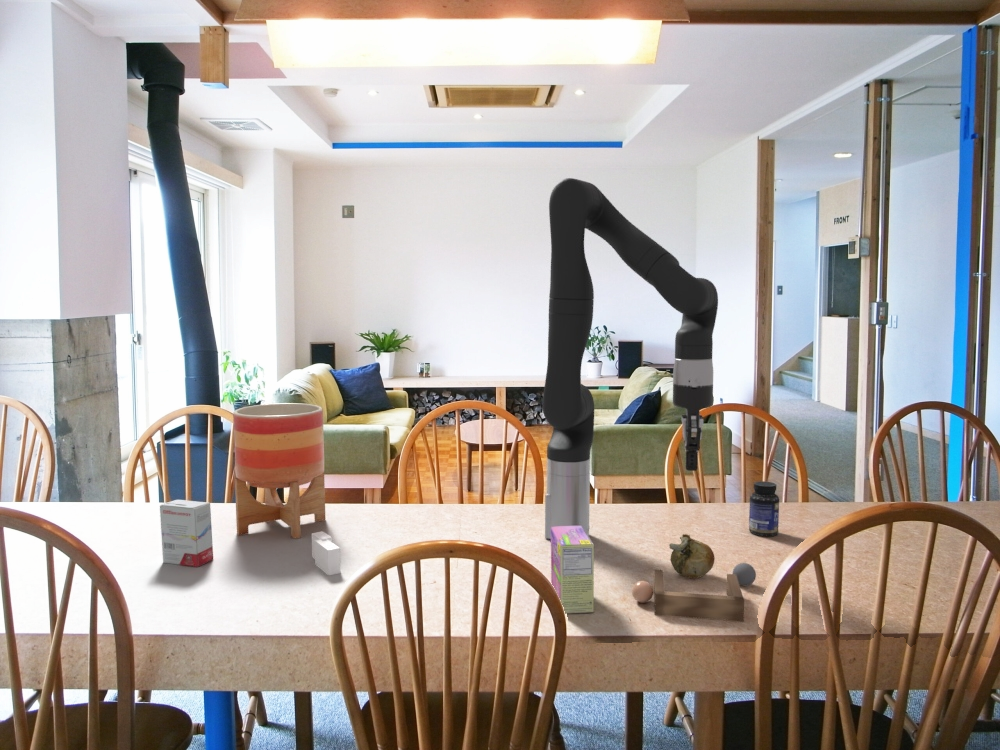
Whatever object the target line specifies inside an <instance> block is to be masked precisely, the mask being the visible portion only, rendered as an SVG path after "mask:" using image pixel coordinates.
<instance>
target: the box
mask: <svg viewBox="0 0 1000 750" xmlns="http://www.w3.org/2000/svg"><path fill="white" fill-rule="evenodd" d="M594 555H595V545H594V543H593V541H592V539H591V537H590V536H589V537H588V535H587V534H586V532H585V531H584V529H583V528H582V526H556V527H551V539H550V565H551V566H550V569H551V570H550V572H551V573H550V584H551V583H552V585H553V586H554V588H555V590H556V592H557V594H558V596H559V598H560V600H561V603H562V605H563V607H564V611H565V614H568V615H569V614H584V613H585V614H590V613H594V593H595V592H594V583H595V581H594V578H595V577H594V576H595V573H594V571H595V570H594V569H595V568H594V567H595V565H594V564H595V563H594V562H595V561H594V560H595V556H594ZM565 614H564V615H565Z"/></svg>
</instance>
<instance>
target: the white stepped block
mask: <svg viewBox="0 0 1000 750" xmlns="http://www.w3.org/2000/svg"><path fill="white" fill-rule="evenodd" d="M332 539H333V538H332V536H331V535H329V534H328V533H326V532H325V531H317V532H313V533H311V557H312V558H313V559H314V565H315V566H316V567H318V568H319V569H320V570H321V571H323V572H324V573H325V574H326V575H327V576H332V575H337V574H341V548H340V547H339V546H338V545H337V544H335V543H334V542H333V541H332Z"/></svg>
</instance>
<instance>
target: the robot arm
mask: <svg viewBox="0 0 1000 750" xmlns="http://www.w3.org/2000/svg"><path fill="white" fill-rule="evenodd" d="M548 209H549V210H548V212H549V215H548V216H549V227H550V228H549V230H550V246H551V248H550V249H551V252H550V254H551V255H550V278H549V283H550V285H549V297H548V333H547V334H548V337H547V338H548V339H547V367H546V374H545V381H544V388H543V396H542V402H541V403H542V405H541V406H542V413H543V416H544V418H545V420H546V422H547V423H548V424H549V425H550V426H551V427H552V434H551V437H550V440H549V441H548V444H547V447H546V493H545V496H544V497H545V498H544V500H545V501H544V502H545V503H544V538H545V539H549V540H551V527H556V526H582V528H583V529H584V531H585V532H586V534H587V535H588V537H589V538H590V505H591V504H590V489H591V485H590V483H591V482H590V481H591V472H590V471H591V449H592V446H593V442H594V430H595V425H594V424H595V401H594V397H593V394H592V392H591V391H590V389H589V388H588V387H587V386H585V385H584V384H582V383H581V382H582V380H581V378H582V363H583V359H584V358H583V357H584V354H585V350H586V347H587V344H588V342H589V338H590V334H591V330H592V324H593V320H594V319H593V318H594V302H595V301H594V300H595V295H594V294H595V292H594V285H593V281H592V280H593V279H592V276H591V272H590V270H589V266H588V262H587V258H586V252H585V234H586V233H585V232H586V230H588V231H589V232H592V234H595V235H597V236H598V237H600V238H601V239H602V240H603V241H605V242H606V243H607V244H608V245H609V246H611V247H612V249H614V251H615V253H616V254H617V255H618V256H619V257H620V259H621V260H622V261H623V263H625V264H626V266H628V267H629V268H630V269H631V270H632V271H633V272H634V273H636V274H637V275H638V276H639V277H641V278H642V279H643V280H644V281H645V282H647V283H648V284H649V285H651V286H653V288H655V290H656V291H657V293H658V294H659V295H660V296H661V297H662V298H663V299H664V301H666V302H667V303H668V304H669V305H670V306H671V307H672V308H673V309H675V310H676V311H678V312H679V313H681V314H682V317H681V325H680V328H679V329H678V330H677V332H676V333H675V339H674V340H675V341H674V363H673V364H674V365H673V371H672V373H673V374H672V377H673V378H672V404H673V406H675V407H677V408H680V409H682V408H684V409H685V414H681V420H680V421H681V424H682V437H683V443H684V450H685V461H684V463H685V464H684V465H685V466H684V467H685V469H686V471H689V472H690V471H691V472H692V471H693V472H696V471H697V470H698V463H699V462H698V459H699V457H698V455H699V454H698V453H699V451H700V449H701V444H700V443H701V441H702V437H703V436H702V435H703V433H702V432H703V427H704V417H703V415H702V414H700V410H701V409H707V408H711V407H712V406H713V403H714V401H713V400H714V363H713V349H714V348H713V346H714V345H713V343H714V342H713V333H714V330H715V329H714V328H715V325H716V319H717V315H718V309H719V308H718V306H719V296H718V295H719V294H718V291H717V288H716V286H715V284H714V282H712V281H711V280H709V279H707V278H704V277H695V276H694V275H692V274H691V273H690V272H688V271H687V270H685V268H683V267H682V266H681V265H680V262H679V260H678V259H677V257H675V256H674V255H673V254H672V253H671V252H670V251H668V250H667V249H665V248H664V247H663V246H662V245H661V244H660V243H658V242H656V240H654V239H652V237H650V236H649V235H648V234H646V233H645V232H643V231H642V230H640V228H639V227H637V226H636V225H634V224H633V223H632V222H631V221H629V220H628V219H627V218H626V217H625V216H624V214H622V213H621V212H620V211H619V209H617V208H616V207H615V206H614V205H613V203H612V202H611V201H610V200H609V199H608V198H607V196H606V195H605V194H604V193H603V192H602V191H601V189H599V188H598V187H597V186H596V185H595V184H593V183H591V182H588V181H585V180H581V179H577V178H572V177H571V178H570V177H569V178H563V179H561V180H560V181H558V182H557V183H556V184H555V185H554V187H553V189H552V190H551V193H550V195H549V203H548Z"/></svg>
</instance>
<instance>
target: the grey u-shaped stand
mask: <svg viewBox="0 0 1000 750" xmlns="http://www.w3.org/2000/svg"><path fill="white" fill-rule="evenodd" d="M653 573H654V574H653V602H654V603H653V604H654V605H653V606H654V615H655V616H664V617H665V616H667V617H680V618H691V619H692V618H693V619H704V620H718V621H719V620H722V621H732V622H744V620H745V619H744V618H745V617H744V616H745V615H744V613H745V599H744V596H743V593H742V590H741V585H740V584H739V583H738V579H737V576H736V574H733V573H732V574H731V573H727V574H726V591H725V592H726V593H725V594H726V595H723V594H722V595H721V594H719V595H718V594H707V593H692V592H678V591H677V592H676V591H665V581H664V580H665V579H664V570H663V569H657V568H654V569H653Z"/></svg>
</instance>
